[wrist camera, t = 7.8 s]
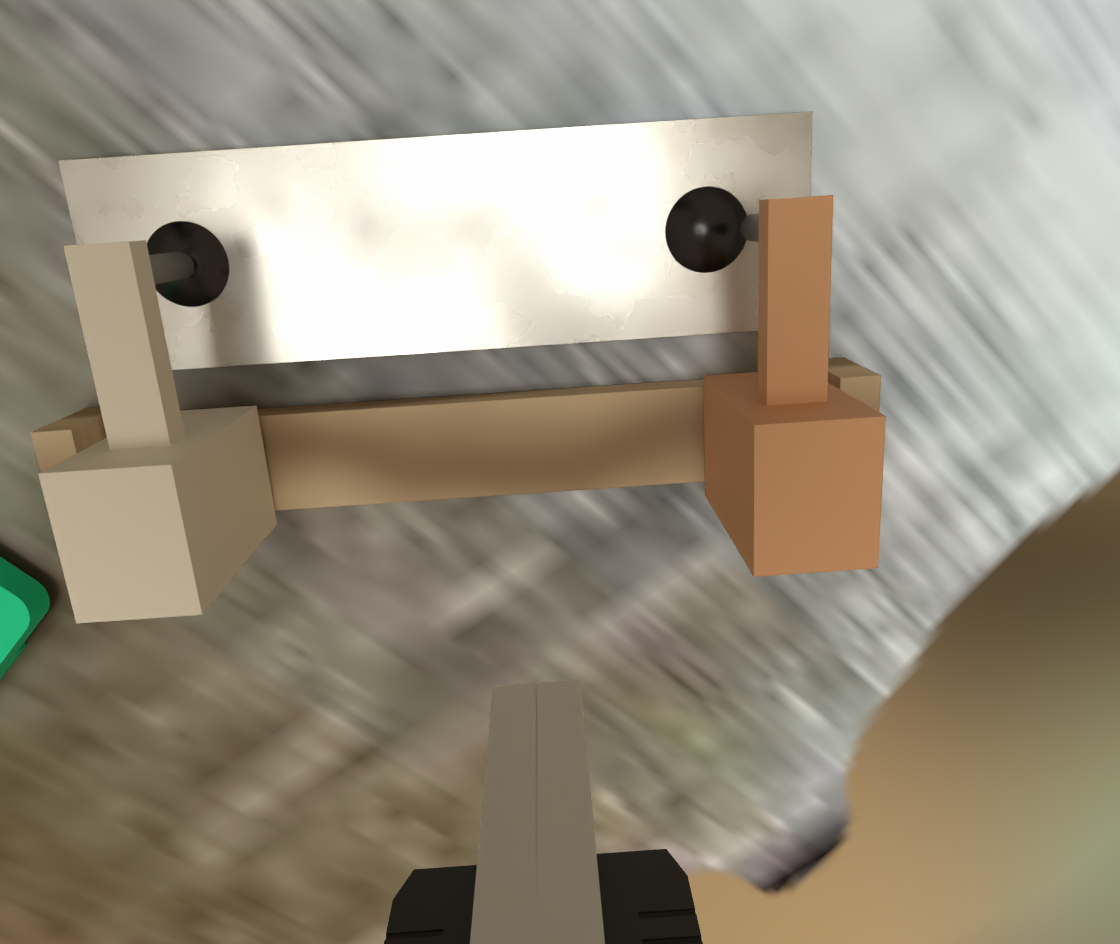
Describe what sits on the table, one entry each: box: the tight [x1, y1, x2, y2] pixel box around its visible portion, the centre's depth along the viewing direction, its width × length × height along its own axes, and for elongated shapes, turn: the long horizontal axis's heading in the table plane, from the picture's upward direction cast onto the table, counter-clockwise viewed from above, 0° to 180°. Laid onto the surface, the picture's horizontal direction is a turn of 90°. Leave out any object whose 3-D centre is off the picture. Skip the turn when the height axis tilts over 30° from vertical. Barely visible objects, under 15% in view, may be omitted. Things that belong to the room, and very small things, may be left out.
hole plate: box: [58, 112, 812, 370], centre depth 33 cm, size 8×28×1 cm, turn 94°
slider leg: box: [704, 195, 886, 577], centre depth 30 cm, size 12×4×8 cm, turn 4°
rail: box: [30, 358, 881, 511], centre depth 34 cm, size 5×32×4 cm, turn 94°
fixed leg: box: [38, 240, 277, 623], centre depth 29 cm, size 12×4×8 cm, turn 4°
